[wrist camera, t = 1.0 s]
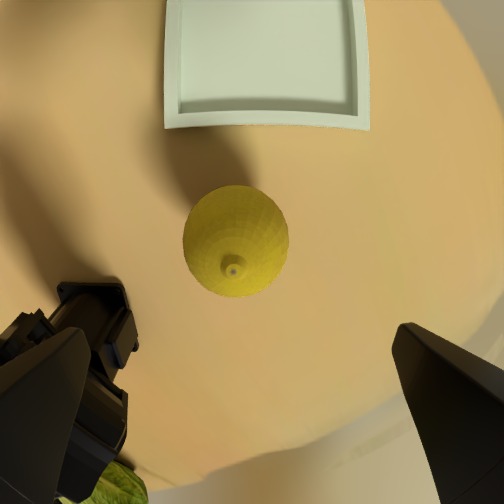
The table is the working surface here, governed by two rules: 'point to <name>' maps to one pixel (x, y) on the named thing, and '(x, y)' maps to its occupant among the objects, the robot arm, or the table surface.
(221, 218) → the lemon
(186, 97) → the dish
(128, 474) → the lettuce
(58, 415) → the robot arm
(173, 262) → the table surface
